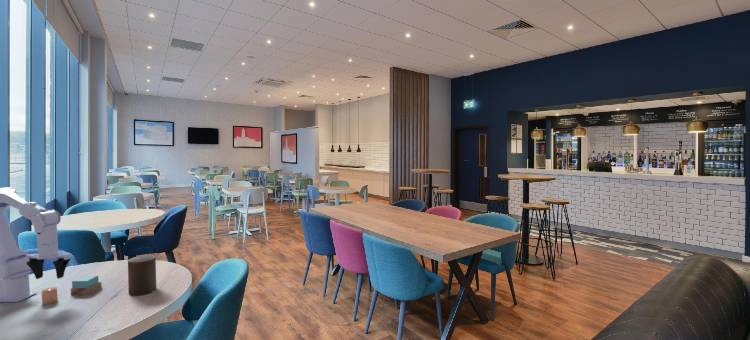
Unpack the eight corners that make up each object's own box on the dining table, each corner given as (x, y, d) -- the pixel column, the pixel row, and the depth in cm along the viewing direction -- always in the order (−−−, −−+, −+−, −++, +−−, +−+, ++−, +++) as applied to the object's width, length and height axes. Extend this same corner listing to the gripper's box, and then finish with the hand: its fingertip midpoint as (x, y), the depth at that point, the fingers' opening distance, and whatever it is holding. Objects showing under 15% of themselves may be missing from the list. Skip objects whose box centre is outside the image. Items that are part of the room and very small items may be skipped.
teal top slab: (72, 288, 144) (71, 281, 144) (83, 282, 150) (83, 275, 150) (87, 288, 144) (87, 280, 144) (98, 282, 150) (98, 275, 150)
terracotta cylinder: (39, 304, 135) (38, 291, 135) (49, 299, 139) (48, 287, 139) (50, 304, 135) (50, 291, 135) (60, 299, 139) (60, 287, 139)
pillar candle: (143, 296, 142) (142, 259, 141) (122, 294, 144) (121, 258, 143) (162, 287, 152) (161, 252, 151) (142, 285, 153) (141, 251, 153)
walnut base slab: (71, 296, 144) (70, 288, 144) (84, 289, 151) (84, 282, 151) (88, 295, 144) (88, 288, 144) (101, 288, 151) (101, 281, 151)
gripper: (17, 246, 131) (20, 282, 132) (59, 245, 132) (61, 281, 133) (34, 240, 138) (36, 275, 139) (74, 240, 139) (75, 274, 140)
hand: (49, 277), depth 137 cm, fingers open, 7 cm apart
